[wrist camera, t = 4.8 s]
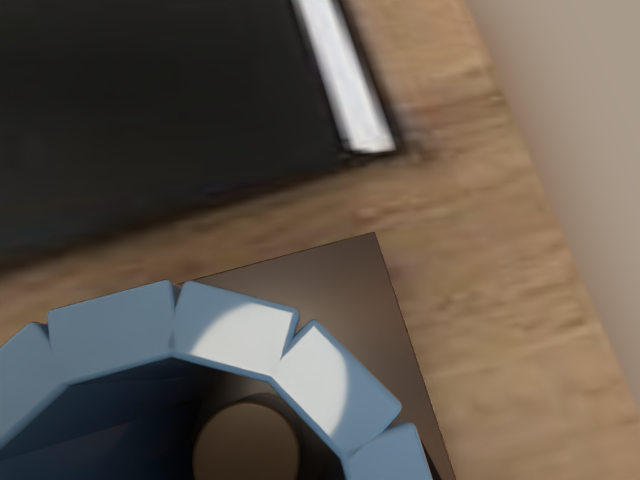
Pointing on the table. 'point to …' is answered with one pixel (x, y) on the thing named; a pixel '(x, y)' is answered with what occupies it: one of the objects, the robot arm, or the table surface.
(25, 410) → the vase
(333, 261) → the platform
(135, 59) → the table surface
